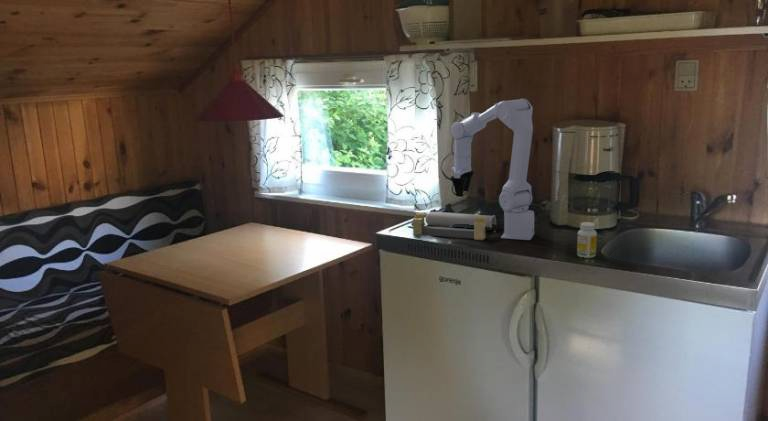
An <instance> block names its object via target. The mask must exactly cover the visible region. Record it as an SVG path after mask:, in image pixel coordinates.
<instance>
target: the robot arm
mask: <svg viewBox="0 0 768 421" xmlns="http://www.w3.org/2000/svg"><path fill="white" fill-rule="evenodd" d="M533 110H534V108H533V106H532V104H531V103H530V102H529V100H528V99H526V98H520V99H512V100H511V99H509V100H501V101H499V102H496V103H494V105H493V106H491V107H489V108H488V109H486V110H485V111H483V112H482V113H481V112H476V111H475V112H472V113H471V114H470V116H468V117H464V118H462V120H461V121H455V122H454V123H453V124H452V125H451V127H450V133H451V136H452V138H453V139H454V150H453V151H454V155H453V156H454V159H453V160H454V163H453V164H454V165H453V166H452V167H451V169H450V170H451V171H453V175H451V176H450V180H451V182H452V185H453V188H454V191H455V192H454V194H455V196H456V197H460V198H461V197H463V195H464V192H469V190H470V185H471V182H472V178H473V176H474V173H475V171H474V170H472V142H473V137H474V135H475V134H476V133H478V132H480V131H481V130H483V129H485V128H486V127H487V123H489V122H491V121H494V120H495V119H499V120H500V121H501V122H502V123H503V124H505V126H507V127H508V128H509V129H510V130H512V132H513V140H512V141H513V142H512V148H511V149H512V150H511V158H510V166H509V175H508V180H507V181H506V182H505V184H504V185H503V186H502V190H501V193H500V195H499V198H498V202H499V206H500V208H501V209H502V211H503V212H504V213H503V215H504V216H503V218H504V219H503V220H504V224H503V225H504V226H503V230H504V231H503V233H502V235H501V236H500V238H501V239H506V240H507V239H508V240H509V239H510V240H519V241H520V240H521V241H522V240H523V241H531V240H532V238H533V237H534V235H535V211H534V210H529V206H530V205H531V204H532V203H533V194H532V185H531V184H530V183H529V182H527V177H528V170H529V161H530V155H531V154H530V153H531V147H532V139H533V131H534V125H533V118H532V117H533Z"/></svg>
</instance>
